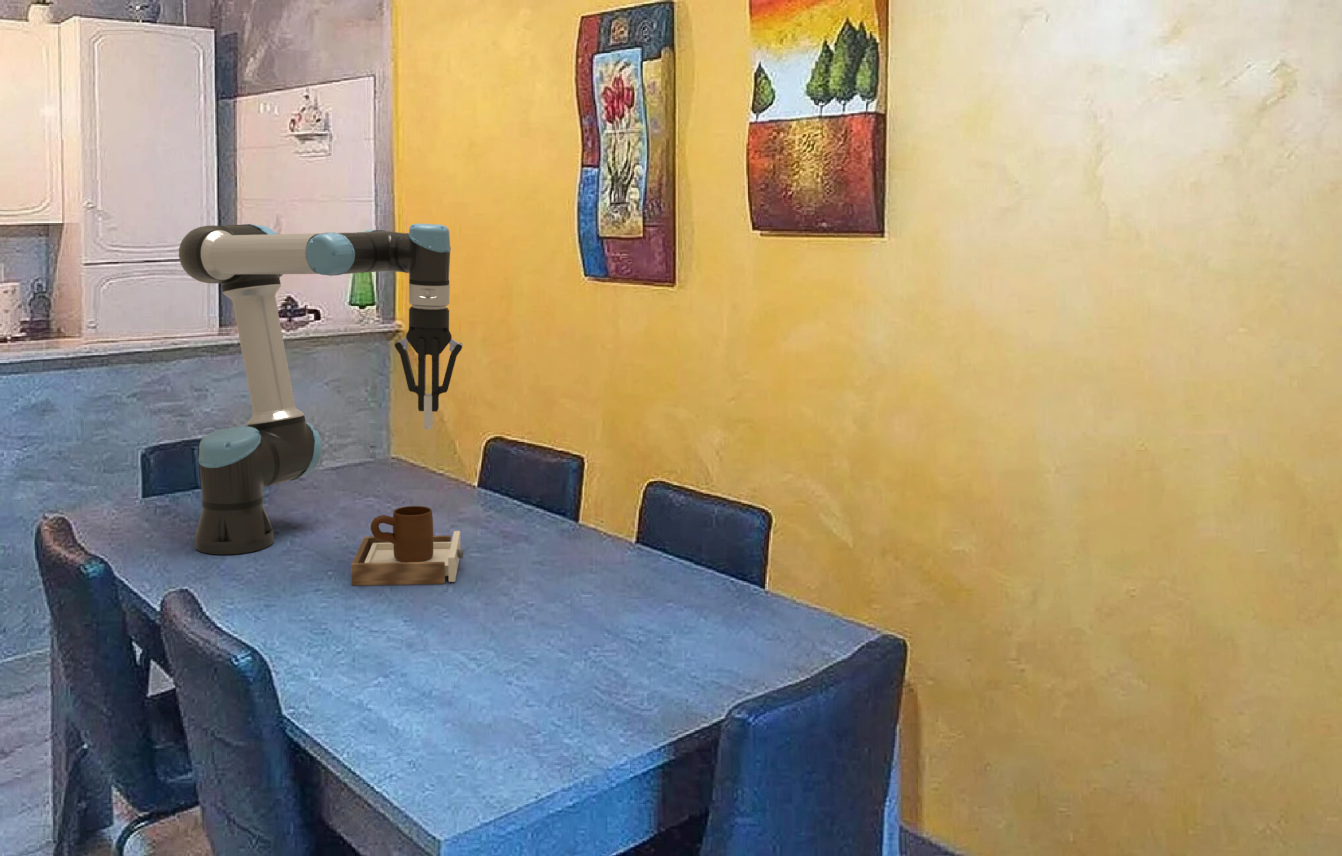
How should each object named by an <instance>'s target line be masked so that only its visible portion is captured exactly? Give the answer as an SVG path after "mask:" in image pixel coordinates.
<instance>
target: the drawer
mask: <svg viewBox="0 0 1342 856" xmlns="http://www.w3.org/2000/svg"><path fill="white" fill-rule="evenodd" d="M460 558H461V559H463V558H464V549H461V530H454V531H453V534H452V537H451V542H433V556H432V557H431V558H430V559H428V560H426V561H422V562H445V576H446V577H448V582H449V583H450V582H452V583H454V582H456V580H457V574H458V569H459V562H460ZM390 562H401V561H398V560H397V559H396V558H395V557H394V545H393V544H392V543H373V544H372V546H371V549H370V551H369V553H368V555H367V558H366V560H365V562H364V563H390Z"/></svg>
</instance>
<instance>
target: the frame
mask: <svg viewBox="0 0 1342 856" xmlns="http://www.w3.org/2000/svg"><path fill="white" fill-rule="evenodd" d="M433 542H452V537H451V535H450V534H449V535H448V534H447V535H433ZM373 543H391V542H389V541H381V540H378V539H376V538H375V537H374V536H373V535H371V536H364V537H363V539H362V541H361V544H360V545H359V547H358V549H357V552H356V554H355V556H354V558H353V560H352V562H351V565H350V566H351V567H350V568H351V569H350V570H351V571H350V572H351V574H350V575H351V586H391V585H392V586H394V585H395V586H397V585H398V586H399V585H405V586H406V585H443V584H444V585H446V580H447V576H445V562H390V563H364V562H365V560H366V558H367V555H368V553H369V551H370V549H371V546H372V544H373Z"/></svg>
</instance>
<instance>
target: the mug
mask: <svg viewBox="0 0 1342 856" xmlns="http://www.w3.org/2000/svg"><path fill="white" fill-rule="evenodd" d="M433 517H434V516H433V510H432V509H431V508H430V507H427V506H421V505H409V506H401V507H398V508H395V509H394V510H393V511H392V516H389V515H385V514H382V515H378V516H376V517H374V518H373V520H372V521H371V523H370V531H371V534H372V536H374V537H375V538H376V539H378V540H381V541H389V542H391V543H392V544H393V545H394V557H395V558H396V559H397V560H398V561H401V562H422V561H426V560H428V559H430V558H431V557H432V556H433V536H434V518H433ZM381 524H385V525H388V526H392V532H389V531H382V530H381V529H380V525H381Z"/></svg>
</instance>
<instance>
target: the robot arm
mask: <svg viewBox="0 0 1342 856" xmlns="http://www.w3.org/2000/svg"><path fill="white" fill-rule="evenodd" d="M408 230H409V232H407V233H406V232H397V231H390V230H389V231H388V230H385V229H373V230H372V229H370V230H369V229H368V230H366V231H363V232H361V231H360V232H359V231H358V232H324V233H323V232H322V233H320V232H319V233H317V232H316V233H313V232H312V233H284V234H283V233H277V232H275V231H274V230H273V229H272V228H270V227H269V226H265V225H262V224H261V225H260V224H258V225H257V224H251V223H249V224H247V223H246V224H227V225H226V224H223V225H213V224H212V225H204V226H198V227H196V228H194V229H192V230H190V231H189V232H188V233H187V234H186V235H185V236H184V237H183V239H182V240H181V242H180V243H179V244H180V245H179V248H178V257H179V258H178V259H179V262H180V265H181V267H182V268H183V271H185V273H186V274H187V275H188V276H189V277H191V278H192V279H194V280H195V281H198V282H201V283H205V284H206V283H207V284H220V285H221V289H222V294H223V295H224V296H225V297H227V298H228V299H230V300H231V302H232V306H233V310H234V311H233V312H234V316H235V321H236V322H235V323H236V329H237V333H238V339H239V344H240V349H241V355H242V359H243V366H244V371H245V375H246V382H247V387H248V391H249V398H250V403H251V408H252V416H251V417H250V419H249V420H248V421H247V426H245V425H244V426H233V427H226V428H221V429H218V430H214V431H212V432H210V433H208V434H207V433H206V435H204V436H203V437H202V438H201V440H200V442H199V445H198V446H199V447H198V448H199V449H198V450H199V452H198V463H199V473H200V474H199V475H200V490H201V506H202V507H201V509H202V510H201V513H200V517H199V520H198V524H197V528H196V531H195V535H194V545H195V546H194V547H195V549H196V551H198V552H201V553H206V554H211V555H237V554H239V555H240V554H247V553H251V552H252V553H253V552H256V551H261V550H263V549H267V548H269V547H270V546H272V545H273V544H274V541H275V537H274V536H275V535H274V529H273V527H272V523H271V522H270V519H269V517H268V515H267V514H268V513H267V511H266V509H265V506H264V498H263V495H264V493H263V488H265V487H270V486H274V485H277V484H281V483H284V482H288V481H296V480H298V479H300V478H301V477H305V476H307V475H309V474H311V473H312V472H313V471H314V470H315V469H316V467H317V466H318V464H319V463H320V460H321V458H322V451H323V445H322V443H323V442H322V439H321V436H320V433H319V431H318V430H317V429H315V426H314V425H313V424H311V423H310V422H307V421H306V416H305V413H304V412H303V411H301V410H300V409H298V408H297V407H296V405H295V404H296V402H295V397H294V392H293V387H292V383H291V376H290V370H289V364H288V360H287V354H286V349H285V348H286V347H285V344H284V338H283V332H282V326H281V321H280V315H279V310H278V304H277V299H276V294H277V292H278V291H279V289H280V288H281V287H282V285H281V279H280V278H281V277H282V276H284V275H321V276H328V277H329V276H340V275H351V274H366V273H378V272H380V273H381V272H396V273H404V274H405V273H407V274H408V303H409V304H410V307H409V308H408V331H407V332H406V335H405V337H404V338H402V339H400V340H397V341H396V342H395V343H394V348H395V349H396V351H397V352H398V354H399V355H400V361H401V363H402V368H403V369H402V370H403V371H404V377H405V381H406V384H407V389H408V391H409V392H411V393H415V394H416V395H417V410H418V411H419V412H423V430H432V429H433V424H434V422H433V421H434V420H433V419H434V417H433V416H434V415H433V414H434V412H438V410H439V407H440V403H439V400H440V395H441V394H443V393H447V392H448V390H449V387H450V384H451V379H452V375H453V372H454V367H455V364H456V360H457V356H458V355H459V354H460V353H461V351H462V349H463V343H462V342H458V341H456V340H455V339H453V337H452V333H451V331H450V308H448V307H447V306H449V304H450V286H451V284H450V262H451V250H452V248H451V241H450V238H451V237H450V236H451V235H450V230H449V228H448V227H447V226H446V225H445V224H444V225H443V224H434V223H413V224H411V225H410V226H409V229H408ZM409 345H410V346H411V347H412V348H413V350H414V351H415V352H416V354H417V360H418V361H417V364H418V365H417V384H416V381H415V378H414V373H413V369H412V365H411V361H410V356H409V353H408V350H409ZM448 345H449V348H448V350H449V351H450V355H449V359H448V363H447V366H446V369H445V372H444V373H445V374H444V378H443V382H442V385H440V355H441V353H443V351H444V350H445V348H446V347H448ZM429 355H430V356H431V393H429V392H428V393H426V373H427V371H426V366H427V365H426V362H427V360H426V359H427V357H426V356H429Z"/></svg>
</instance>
